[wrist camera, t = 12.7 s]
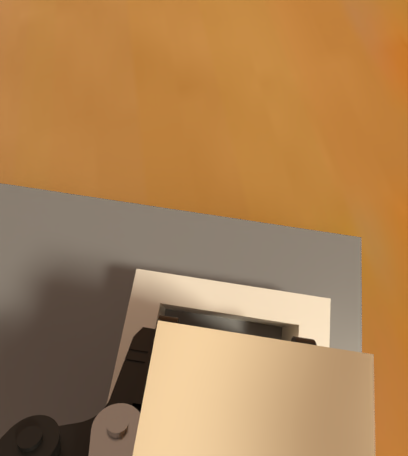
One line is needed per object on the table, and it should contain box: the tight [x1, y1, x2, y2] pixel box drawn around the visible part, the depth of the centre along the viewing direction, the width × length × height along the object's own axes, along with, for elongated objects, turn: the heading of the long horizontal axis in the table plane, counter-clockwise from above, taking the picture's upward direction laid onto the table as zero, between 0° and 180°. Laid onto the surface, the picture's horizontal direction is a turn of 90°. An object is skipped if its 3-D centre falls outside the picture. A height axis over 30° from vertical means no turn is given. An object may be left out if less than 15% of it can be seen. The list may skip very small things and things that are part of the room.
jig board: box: [0, 183, 362, 438], centre depth 16 cm, size 25×18×4 cm
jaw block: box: [132, 320, 375, 456], centre depth 11 cm, size 4×4×10 cm
